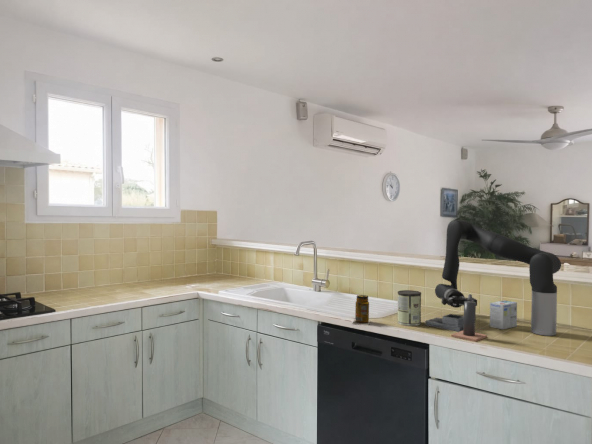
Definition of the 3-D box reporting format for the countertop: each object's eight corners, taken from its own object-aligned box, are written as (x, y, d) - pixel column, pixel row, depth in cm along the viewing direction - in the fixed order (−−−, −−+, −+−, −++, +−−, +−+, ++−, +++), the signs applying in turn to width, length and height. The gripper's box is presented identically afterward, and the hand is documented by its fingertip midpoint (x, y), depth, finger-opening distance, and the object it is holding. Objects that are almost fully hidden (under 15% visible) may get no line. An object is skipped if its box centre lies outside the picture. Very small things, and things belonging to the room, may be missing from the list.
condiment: (370, 321, 209) (370, 294, 209) (368, 325, 200) (369, 298, 200) (354, 320, 210) (354, 294, 210) (352, 324, 202) (352, 297, 202)
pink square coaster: (463, 332, 189) (463, 330, 189) (487, 337, 182) (487, 335, 182) (451, 336, 183) (451, 334, 183) (475, 341, 175) (475, 339, 175)
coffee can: (404, 319, 212) (404, 289, 212) (424, 323, 205) (425, 291, 205) (392, 323, 204) (393, 291, 204) (413, 327, 198) (414, 294, 197)
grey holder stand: (436, 321, 208) (437, 310, 208) (470, 328, 196) (471, 316, 196) (425, 325, 201) (425, 313, 201) (459, 332, 190) (459, 320, 189)
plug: (466, 332, 186) (467, 292, 185) (476, 334, 182) (478, 294, 182) (461, 334, 183) (462, 294, 182) (471, 336, 179) (473, 295, 179)
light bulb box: (503, 323, 206) (503, 299, 206) (517, 326, 200) (517, 302, 200) (488, 326, 200) (489, 302, 200) (503, 329, 194) (503, 304, 194)
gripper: (438, 289, 209) (445, 295, 193) (470, 289, 208) (480, 296, 192) (437, 305, 209) (445, 312, 193) (470, 306, 208) (480, 313, 192)
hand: (463, 304), depth 192 cm, fingers open, 8 cm apart
